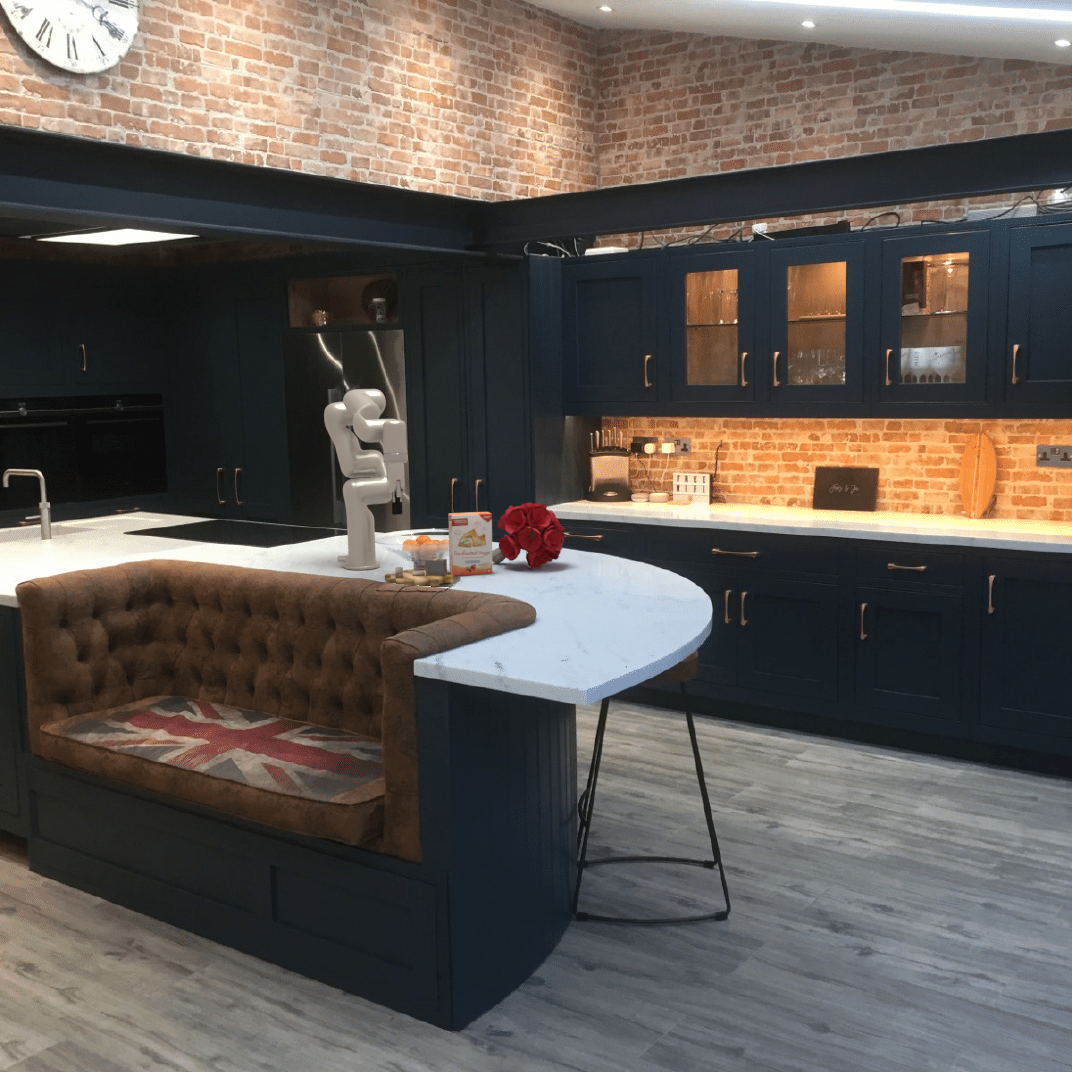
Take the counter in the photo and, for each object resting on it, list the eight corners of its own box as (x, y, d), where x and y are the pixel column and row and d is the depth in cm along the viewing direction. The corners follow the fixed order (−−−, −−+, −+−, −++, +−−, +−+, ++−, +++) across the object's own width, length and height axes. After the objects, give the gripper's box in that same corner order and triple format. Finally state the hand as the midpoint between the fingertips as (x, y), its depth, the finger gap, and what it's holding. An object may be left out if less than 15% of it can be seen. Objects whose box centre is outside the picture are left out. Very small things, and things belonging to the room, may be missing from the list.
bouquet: (486, 589, 407) (548, 551, 390) (461, 527, 412) (521, 488, 395) (524, 583, 424) (585, 547, 407) (500, 525, 429) (558, 487, 412)
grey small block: (425, 575, 376) (425, 559, 375) (429, 573, 379) (428, 558, 379) (443, 576, 375) (443, 560, 374) (447, 574, 378) (446, 558, 377)
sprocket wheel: (403, 590, 363) (403, 573, 363) (372, 580, 382) (372, 564, 381) (466, 582, 375) (465, 566, 375) (433, 572, 394) (432, 557, 393)
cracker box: (452, 576, 393) (451, 514, 390) (449, 573, 399) (447, 512, 396) (493, 574, 397) (492, 512, 394) (489, 571, 403) (488, 510, 400)
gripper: (380, 457, 389) (383, 512, 391) (386, 460, 374) (388, 517, 377) (403, 456, 390) (405, 511, 393) (410, 459, 376) (412, 516, 379)
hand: (397, 514), depth 385 cm, fingers closed
